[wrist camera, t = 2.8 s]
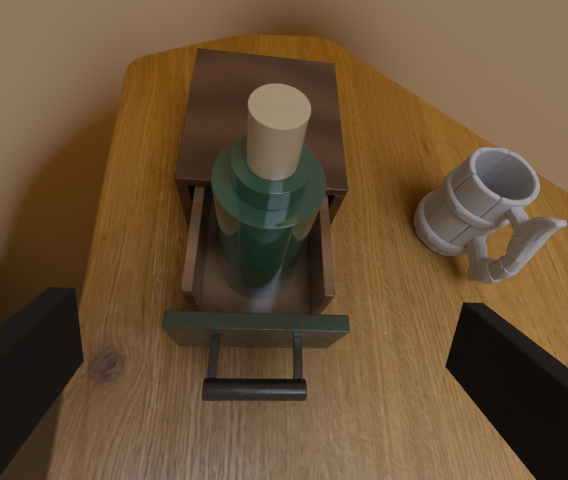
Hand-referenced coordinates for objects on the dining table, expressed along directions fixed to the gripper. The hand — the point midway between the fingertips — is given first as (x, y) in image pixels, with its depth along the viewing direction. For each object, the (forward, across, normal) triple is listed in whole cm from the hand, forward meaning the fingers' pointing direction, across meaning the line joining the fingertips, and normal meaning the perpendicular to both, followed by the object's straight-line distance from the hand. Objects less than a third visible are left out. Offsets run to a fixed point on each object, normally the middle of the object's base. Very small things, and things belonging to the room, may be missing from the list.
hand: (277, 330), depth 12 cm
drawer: (+18, 0, -7) cm, 20 cm away
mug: (+23, +21, -4) cm, 31 cm away
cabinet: (+29, 0, +2) cm, 29 cm away
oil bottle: (+19, 0, -5) cm, 19 cm away
